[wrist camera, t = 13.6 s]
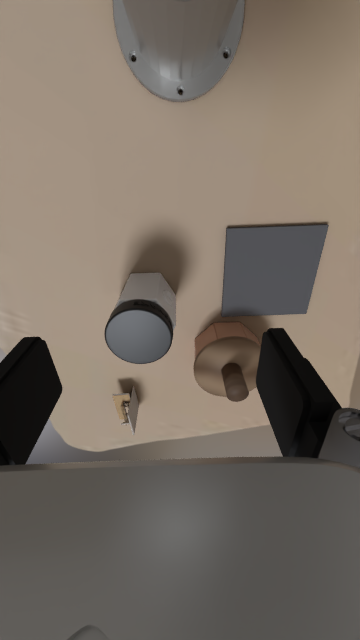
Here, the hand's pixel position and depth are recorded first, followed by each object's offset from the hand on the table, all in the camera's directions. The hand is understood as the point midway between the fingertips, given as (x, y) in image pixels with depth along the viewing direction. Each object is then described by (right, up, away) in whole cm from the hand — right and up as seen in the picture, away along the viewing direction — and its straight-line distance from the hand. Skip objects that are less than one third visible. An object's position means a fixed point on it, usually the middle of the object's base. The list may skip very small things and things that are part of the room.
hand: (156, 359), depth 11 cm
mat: (+15, +9, +28) cm, 33 cm away
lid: (+9, -6, +31) cm, 33 cm away
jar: (-4, +6, +30) cm, 30 cm away
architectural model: (-9, -14, +42) cm, 45 cm away
